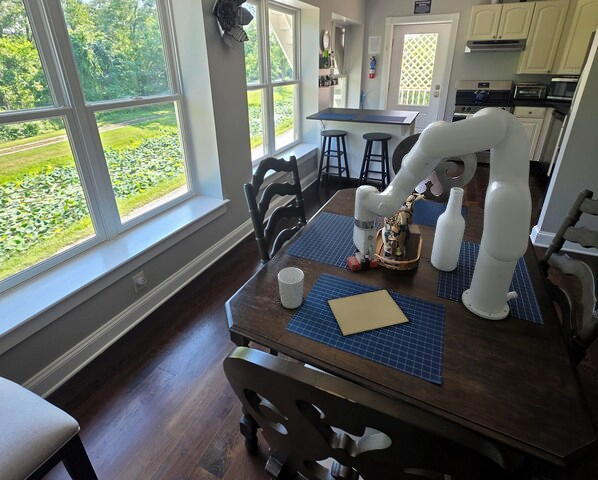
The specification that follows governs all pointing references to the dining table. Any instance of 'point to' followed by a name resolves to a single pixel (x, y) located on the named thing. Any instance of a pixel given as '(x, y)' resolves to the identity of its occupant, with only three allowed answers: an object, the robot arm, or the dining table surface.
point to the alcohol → (449, 233)
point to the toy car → (360, 262)
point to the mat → (366, 312)
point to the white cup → (291, 287)
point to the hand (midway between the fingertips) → (362, 264)
